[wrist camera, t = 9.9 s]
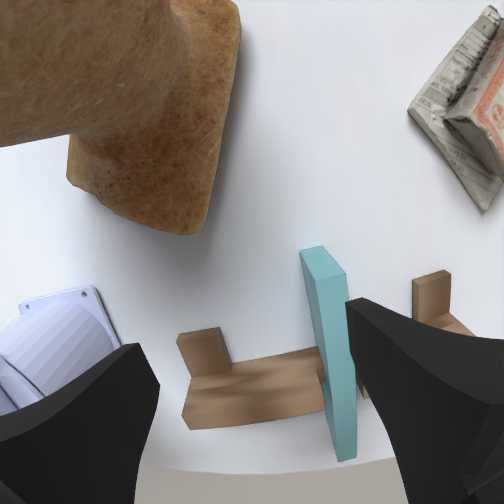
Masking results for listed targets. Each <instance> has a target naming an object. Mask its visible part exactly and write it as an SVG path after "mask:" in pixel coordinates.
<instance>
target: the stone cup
mask: <svg viewBox="0 0 504 504" xmlns="http://www.w3.org/2000/svg"><path fill="white" fill-rule="evenodd" d="M240 38H241V22H240V16H239V11H238V7H237V5H236V4H235V3H234V2H232V1H231V0H0V147H6V146H12V145H17V144H21V143H26V142H31V141H37V140H42V139H47V138H53V137H57V136H61V135H66V134H70V139H69V148H68V160H67V172H66V177H67V179H68V181H69V182H70V183H71V184H72V185H73V186H76V187H79V188H81V189H82V190H84V191H86V192H89V193H93V194H95V195H96V196H97V197H98V199H99V200H100V202H101V203H102V204H104V205H105V206H107V207H109V208H110V209H111V210H112V211H113V212H114V213H115V214H117V215H120V216H123V217H125V218H127V219H129V220H132V221H134V222H137V223H140V224H143V225H146V226H149V227H152V228H155V229H158V230H163V231H167V232H172V233H177V234H180V235H190V234H193V233H195V232H201V231H202V229H203V228H204V226H205V222H206V218H207V213H208V209H209V204H210V199H211V194H212V188H213V184H214V181H215V176H216V171H217V166H218V161H219V155H220V150H221V142H222V135H223V129H224V125H225V120H226V116H227V112H228V107H229V102H230V96H231V91H232V86H233V81H234V75H235V68H236V61H237V55H238V50H239V44H240Z"/></svg>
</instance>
